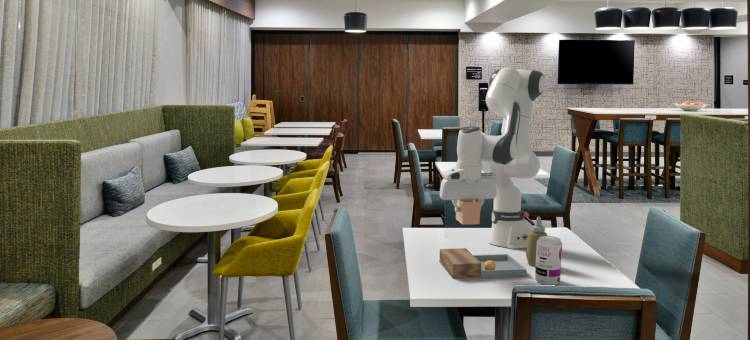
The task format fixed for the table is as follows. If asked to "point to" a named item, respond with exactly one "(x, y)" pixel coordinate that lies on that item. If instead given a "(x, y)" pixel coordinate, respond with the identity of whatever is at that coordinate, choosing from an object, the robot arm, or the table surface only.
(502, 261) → the tray
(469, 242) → the table surface
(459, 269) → the wooden block
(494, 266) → the ball
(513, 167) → the robot arm
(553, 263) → the supplement can
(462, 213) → the sleeve
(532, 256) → the squeeze bottle
